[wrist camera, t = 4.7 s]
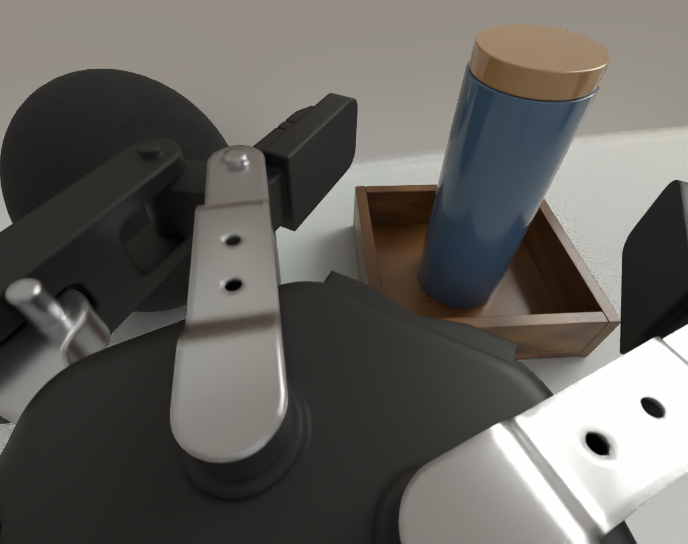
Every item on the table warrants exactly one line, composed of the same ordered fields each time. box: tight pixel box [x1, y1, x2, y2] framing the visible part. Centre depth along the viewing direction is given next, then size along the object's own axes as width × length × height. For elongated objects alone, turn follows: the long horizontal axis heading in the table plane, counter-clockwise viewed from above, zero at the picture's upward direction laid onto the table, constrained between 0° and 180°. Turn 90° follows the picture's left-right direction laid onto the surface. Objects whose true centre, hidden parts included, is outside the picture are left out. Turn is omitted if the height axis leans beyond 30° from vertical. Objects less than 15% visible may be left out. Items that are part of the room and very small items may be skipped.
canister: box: [417, 24, 610, 308], centre depth 24 cm, size 6×6×16 cm
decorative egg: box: [0, 69, 229, 312], centre depth 24 cm, size 12×12×15 cm
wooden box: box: [353, 185, 621, 359], centre depth 28 cm, size 15×14×4 cm
